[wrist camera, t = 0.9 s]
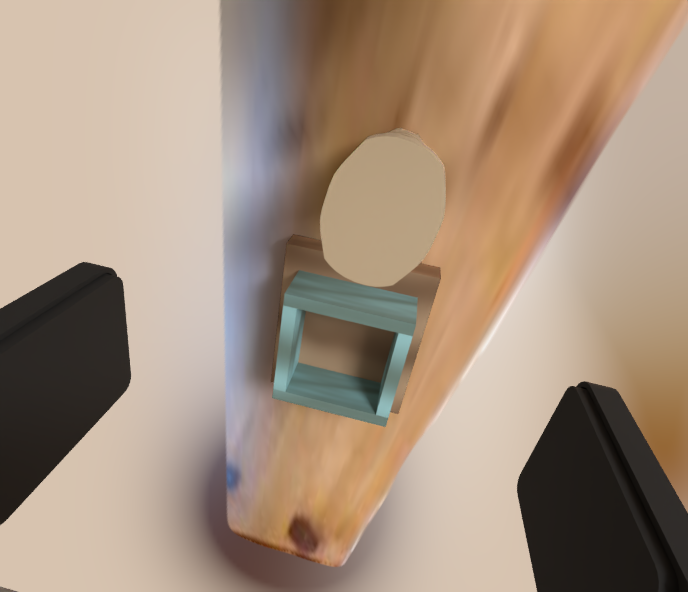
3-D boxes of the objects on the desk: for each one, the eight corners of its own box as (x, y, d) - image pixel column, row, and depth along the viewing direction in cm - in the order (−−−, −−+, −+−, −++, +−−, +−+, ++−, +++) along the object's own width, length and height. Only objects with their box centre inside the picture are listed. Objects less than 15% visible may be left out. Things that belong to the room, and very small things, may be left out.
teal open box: (293, 234, 36) (269, 264, 30) (440, 267, 35) (441, 304, 30) (277, 368, 43) (256, 411, 37) (399, 399, 42) (395, 447, 36)
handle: (354, 181, 33) (304, 262, 20) (386, 92, 30) (350, 118, 17) (415, 205, 33) (405, 301, 20) (453, 118, 30) (470, 164, 17)
